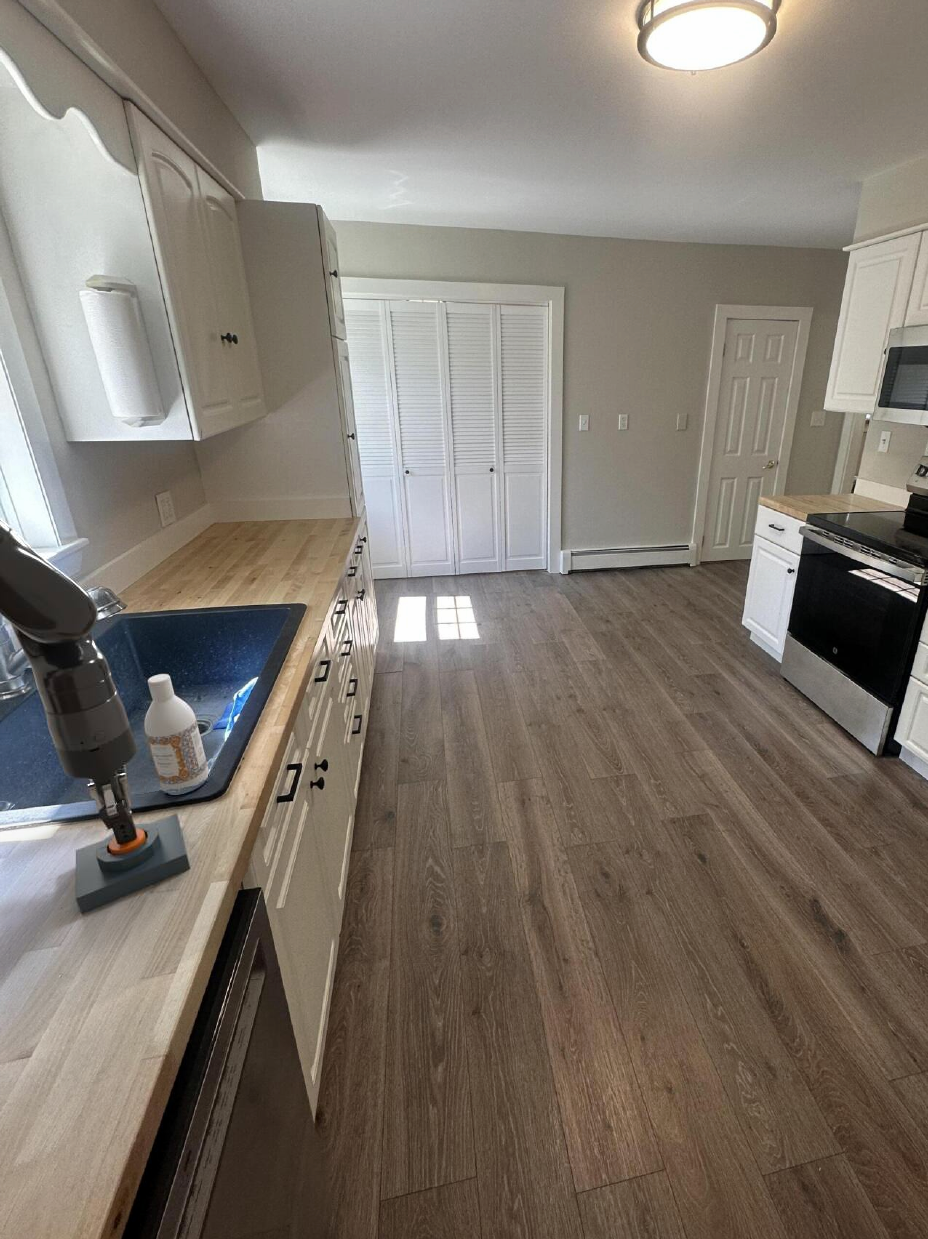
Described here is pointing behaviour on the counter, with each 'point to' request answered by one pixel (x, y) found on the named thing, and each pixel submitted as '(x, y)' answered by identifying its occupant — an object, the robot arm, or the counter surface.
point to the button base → (129, 864)
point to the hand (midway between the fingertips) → (127, 839)
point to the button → (127, 844)
